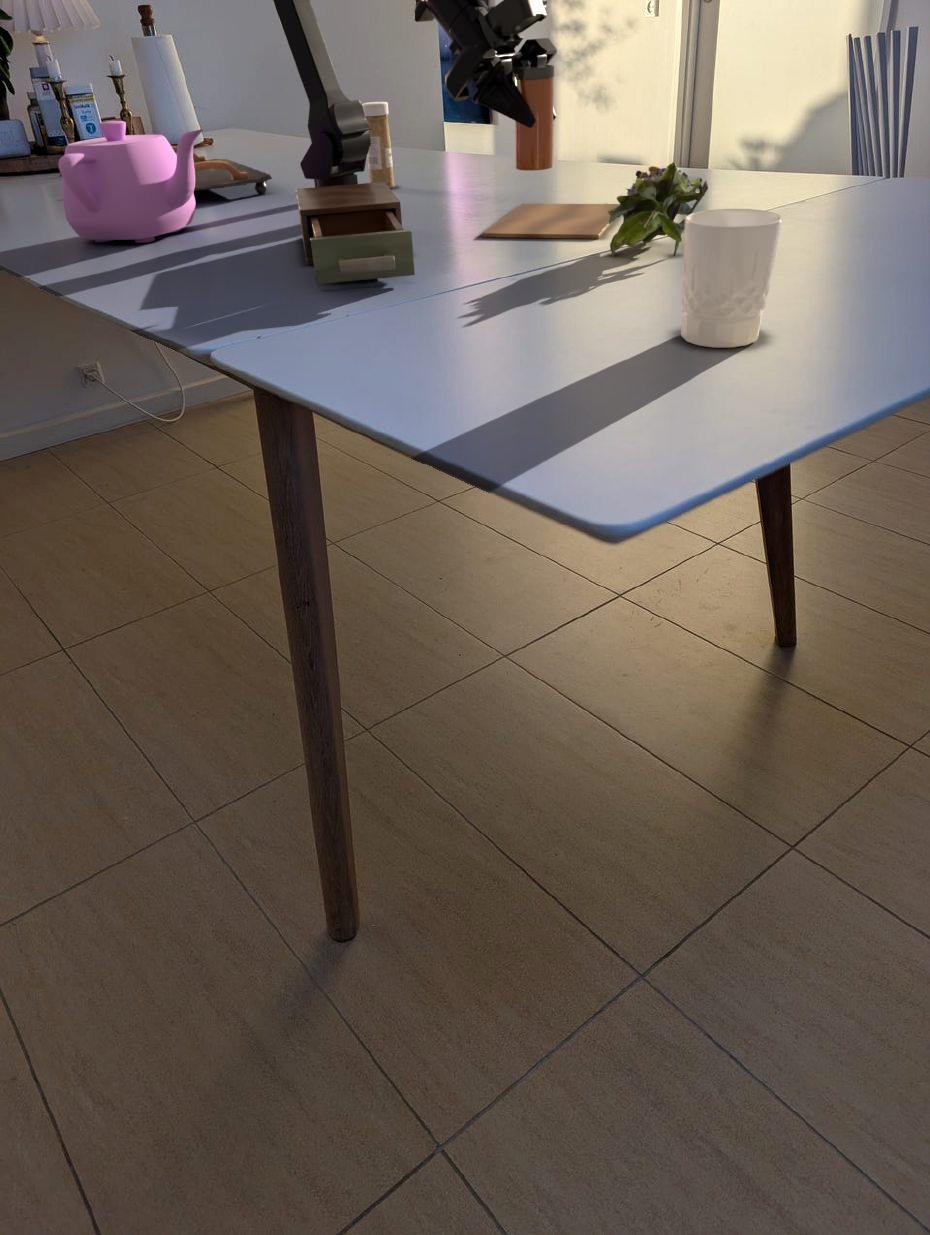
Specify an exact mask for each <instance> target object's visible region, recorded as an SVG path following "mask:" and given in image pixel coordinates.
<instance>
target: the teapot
mask: <svg viewBox="0 0 930 1235" xmlns="http://www.w3.org/2000/svg"><path fill="white" fill-rule="evenodd" d="M97 125H98V127H99V129H100V131H101V133H102V135H103V136H102V137H96V138H88V139H85V140H79V141H74V142H72V143H69V144H67V145H66V146H65V150H64V155H63V156H61V157H60V158H59V160H58V170H59V172H60V173H59V174H60V175H61V194H62V195H61V196H62V204H63V210H64V215H65V219H66V221H67V222H68V225H69V226H70V227H71V229H72V230H73V231H74V232H75V233H76V234H77V235H78V237H79V238H81V239H85V240H95V241H94V242H95V243H106V242H112V241H117V240H118V241H121V240H122V241H123V240H124V241H127V240H128V241H129V240H134V242H135V243H137V244H139V243H140V244H143V243H144V244H145V243H151V242H154V241H155V240H156V239H155V237H158V236H162V235H165V234H171V233H178V232H180V231H182V229H183V228H185V227H187V226H188V225H190V224H191V223H192V222H193V219H194V216H195V213H196V208H197V207H196V206H197V205H196V204H197V203H196V198H195V194H194V192H195V191H194V188H195V169H194V161H193V152H194V146H195V142H196V140H197V138H198V137H199V136H200V135H201V133H202V132H204V131H205V128H200V129H197V130H196V129H195V130H191V131H187V132H184V133H182V134H181V136H180V137H179V139H178V143H177V146H178V147H177V153H175V152H174V150H173V149H172V147H171V146H172V145H171V144H170V142H169V141H168V139H167V138H166V137H165V136H164V135H163V134H127V135H126V132H127V131H126V130H127V122H126V121H124V120H109V121H102V122H100V123H98V124H97Z"/></svg>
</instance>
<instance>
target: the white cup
mask: <svg viewBox="0 0 930 1235" xmlns="http://www.w3.org/2000/svg"><path fill="white" fill-rule="evenodd" d="M684 219H685V221H684V231H683V246H682V248H683V250H682V268H681V270H682V271H681V306H682V312H681V326H680V328H681V329H680V336H681V338H682V339H683V340H684V341H686V342H687V343H689V344H693V345H696V346H699V347H707V348H719V349H720V348H721V349H722V348H725V349H726V348H729V349H730V348H737V347H743V346H748V345H750V344H752V343H755V342H757V341H758V339H759V334H760V330H761V324H762V319H763V315H764V310H765V309H766V305H767V299H768V294H769V292H770V286H771V280H772V279H771V278H772V275H773V272H774V267H775V261H776V254H777V249H778V242H779V238H780V232H781V228H782V222H783V217H782V215H780V214H778V213H777V212H773V211H769V210H762V209H751V208H717V209H707V210H701V211H696V212H692V214H689V215H685V217H684Z"/></svg>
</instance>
